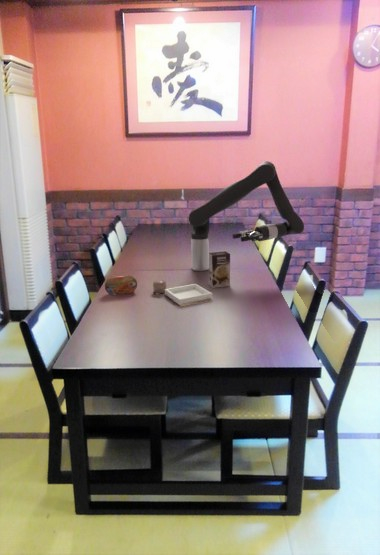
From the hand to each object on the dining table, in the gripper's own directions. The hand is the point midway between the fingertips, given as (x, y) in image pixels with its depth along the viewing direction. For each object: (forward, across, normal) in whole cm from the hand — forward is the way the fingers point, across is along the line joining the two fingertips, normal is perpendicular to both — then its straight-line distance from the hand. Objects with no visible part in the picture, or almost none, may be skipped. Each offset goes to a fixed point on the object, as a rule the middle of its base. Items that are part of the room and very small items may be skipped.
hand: (237, 238), depth 227 cm
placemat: (+32, +10, +21) cm, 39 cm away
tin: (+58, -10, +19) cm, 61 cm away
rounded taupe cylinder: (+40, -4, +20) cm, 45 cm away
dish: (+32, +10, +21) cm, 39 cm away
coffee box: (+11, 0, +22) cm, 25 cm away
